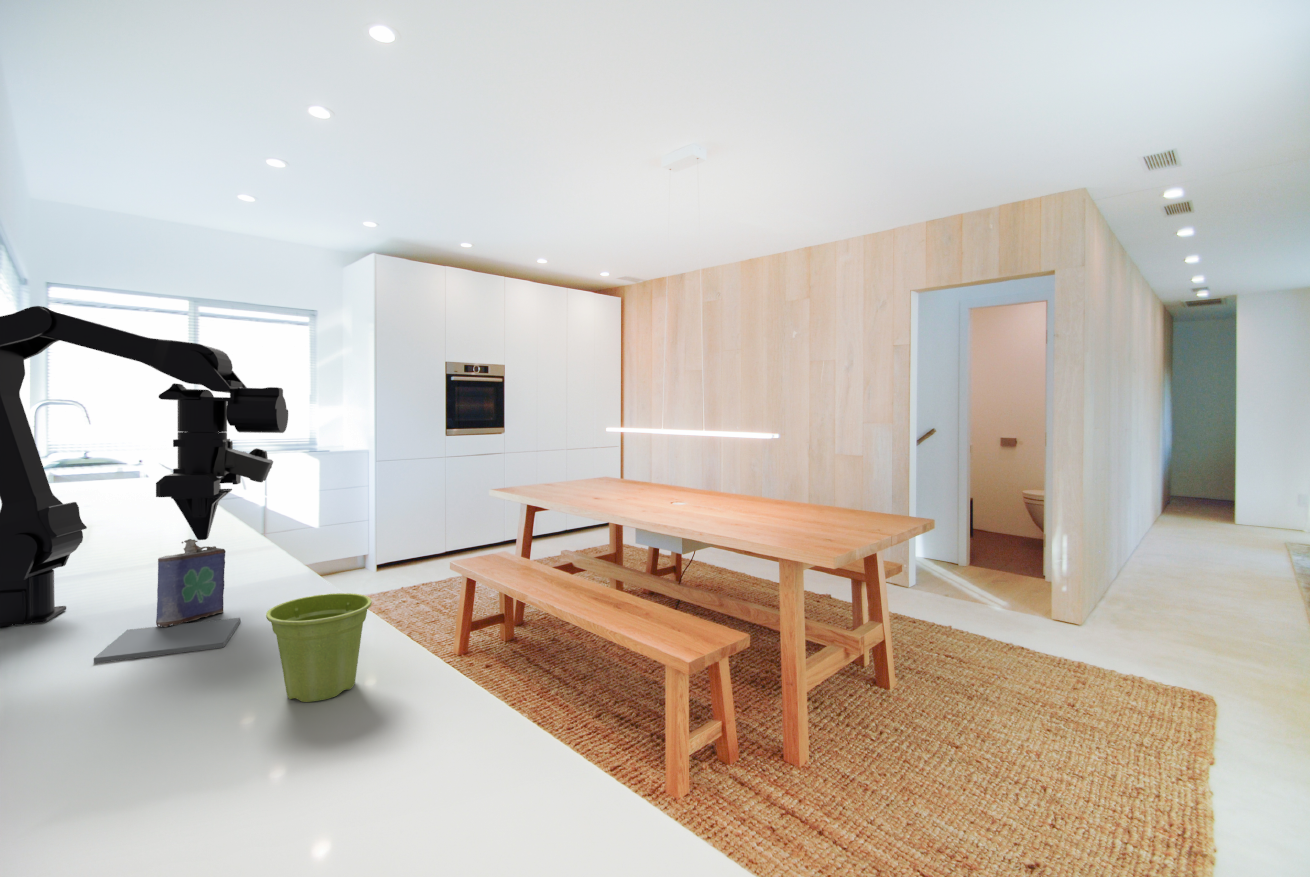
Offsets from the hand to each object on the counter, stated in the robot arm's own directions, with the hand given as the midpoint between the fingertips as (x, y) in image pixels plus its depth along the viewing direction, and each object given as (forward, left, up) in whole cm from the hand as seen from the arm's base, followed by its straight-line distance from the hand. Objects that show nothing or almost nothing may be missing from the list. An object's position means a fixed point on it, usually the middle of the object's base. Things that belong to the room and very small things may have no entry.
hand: (202, 539), depth 87 cm
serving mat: (+15, 0, -10) cm, 18 cm away
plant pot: (+37, +18, -10) cm, 42 cm away
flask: (+7, 0, -10) cm, 12 cm away
